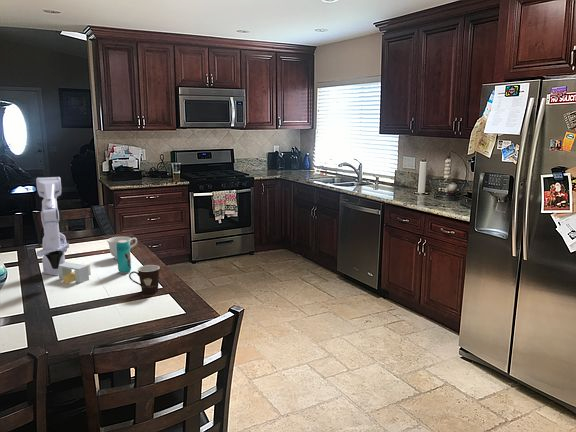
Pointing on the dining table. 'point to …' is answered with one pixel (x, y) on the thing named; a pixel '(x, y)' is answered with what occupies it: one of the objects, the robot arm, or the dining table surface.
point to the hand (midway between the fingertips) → (55, 268)
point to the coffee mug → (148, 278)
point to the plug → (73, 275)
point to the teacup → (113, 243)
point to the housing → (80, 271)
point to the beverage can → (123, 256)
